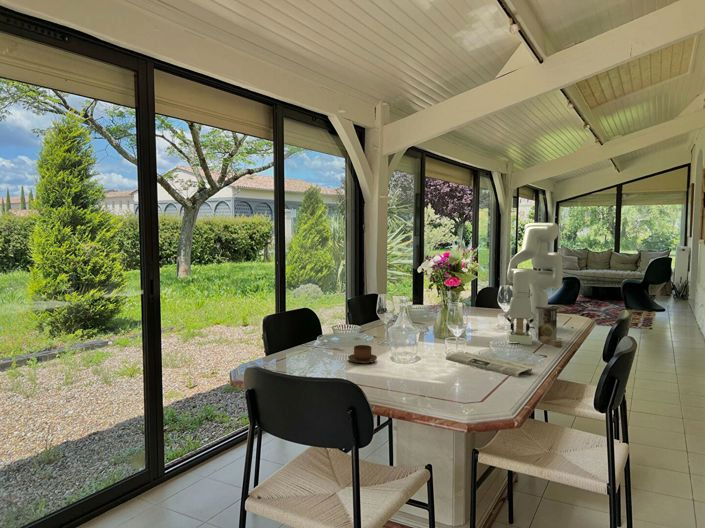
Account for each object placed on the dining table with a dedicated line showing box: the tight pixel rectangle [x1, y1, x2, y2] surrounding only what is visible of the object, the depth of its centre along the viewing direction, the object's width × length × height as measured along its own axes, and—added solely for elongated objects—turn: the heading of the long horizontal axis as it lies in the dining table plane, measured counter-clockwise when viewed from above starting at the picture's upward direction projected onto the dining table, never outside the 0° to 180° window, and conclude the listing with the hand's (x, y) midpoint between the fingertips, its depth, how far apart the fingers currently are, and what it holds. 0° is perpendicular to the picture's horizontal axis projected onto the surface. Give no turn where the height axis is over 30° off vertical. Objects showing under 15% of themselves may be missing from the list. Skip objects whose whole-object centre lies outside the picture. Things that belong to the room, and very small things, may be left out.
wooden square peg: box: [515, 318, 524, 335], centre depth 246 cm, size 3×3×12 cm
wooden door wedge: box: [539, 336, 563, 348], centre depth 241 cm, size 12×3×3 cm, turn 18°
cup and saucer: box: [347, 344, 378, 364], centre depth 210 cm, size 12×12×6 cm
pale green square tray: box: [507, 330, 533, 346], centre depth 246 cm, size 11×11×4 cm
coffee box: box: [534, 306, 558, 341], centre depth 251 cm, size 9×6×16 cm
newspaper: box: [445, 351, 537, 378], centre depth 205 cm, size 35×12×4 cm, turn 41°
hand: (519, 331), depth 246 cm, fingers open, 6 cm apart
